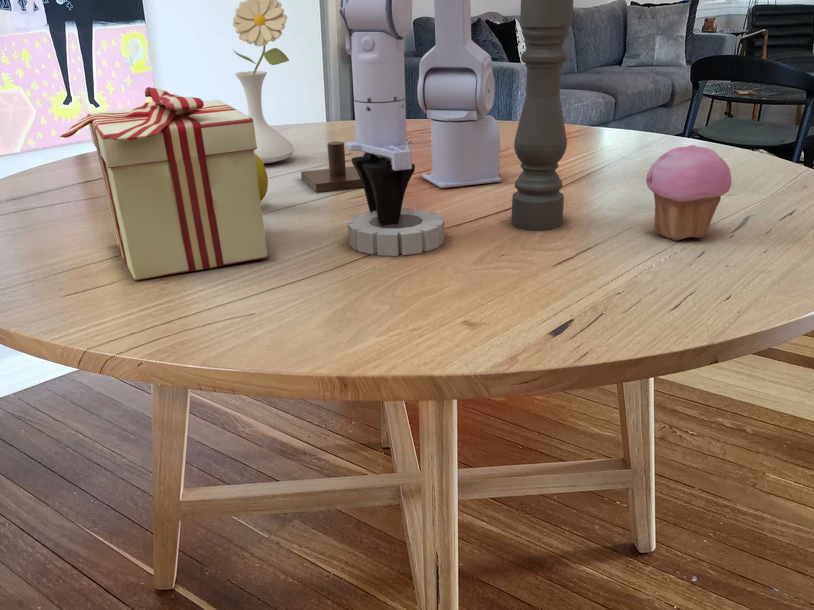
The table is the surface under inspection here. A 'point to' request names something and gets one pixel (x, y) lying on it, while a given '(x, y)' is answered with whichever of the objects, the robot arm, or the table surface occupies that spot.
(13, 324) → the table surface
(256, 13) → the flower in vase
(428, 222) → the grey notched ring
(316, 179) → the brown peg stand
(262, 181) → the lemon
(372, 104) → the robot arm
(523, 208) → the candle holder
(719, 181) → the cupcake
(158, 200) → the gift box
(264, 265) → the table surface
